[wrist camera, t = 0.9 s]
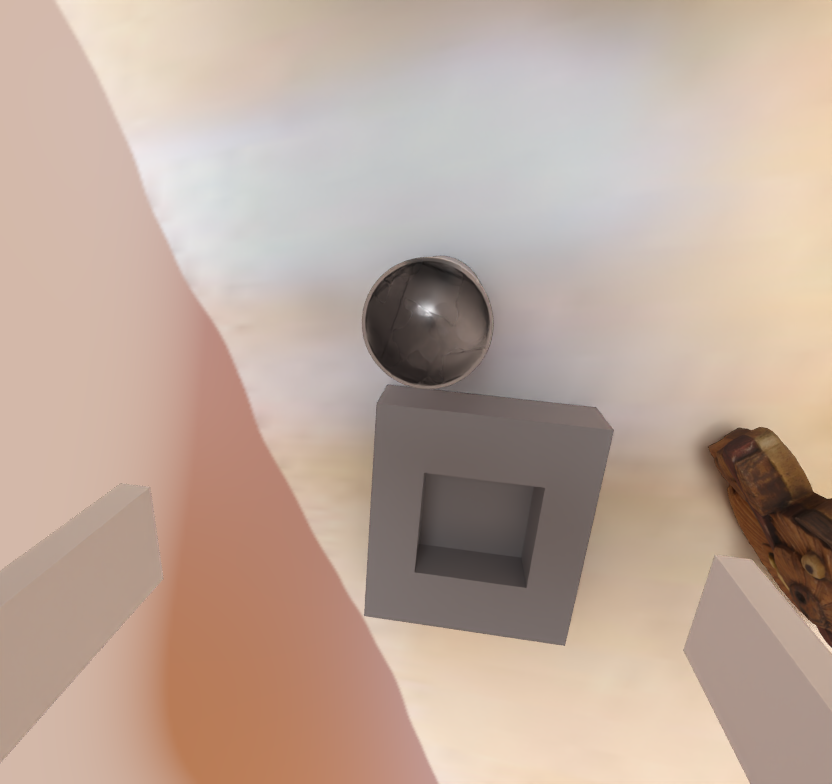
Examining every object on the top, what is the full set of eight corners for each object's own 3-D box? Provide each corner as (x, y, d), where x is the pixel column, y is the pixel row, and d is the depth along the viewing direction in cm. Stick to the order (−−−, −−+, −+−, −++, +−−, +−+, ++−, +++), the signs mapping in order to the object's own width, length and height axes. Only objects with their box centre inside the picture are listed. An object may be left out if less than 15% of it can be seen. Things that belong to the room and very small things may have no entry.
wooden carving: (663, 437, 31) (746, 520, 22) (728, 398, 30) (847, 468, 21) (783, 607, 34) (903, 746, 25) (847, 577, 33) (1000, 712, 24)
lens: (398, 249, 30) (365, 251, 20) (490, 257, 29) (501, 263, 20) (392, 340, 31) (359, 381, 22) (479, 349, 31) (484, 395, 21)
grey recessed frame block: (387, 384, 32) (376, 403, 28) (596, 407, 31) (613, 430, 27) (374, 577, 37) (364, 615, 33) (554, 603, 36) (564, 645, 32)
